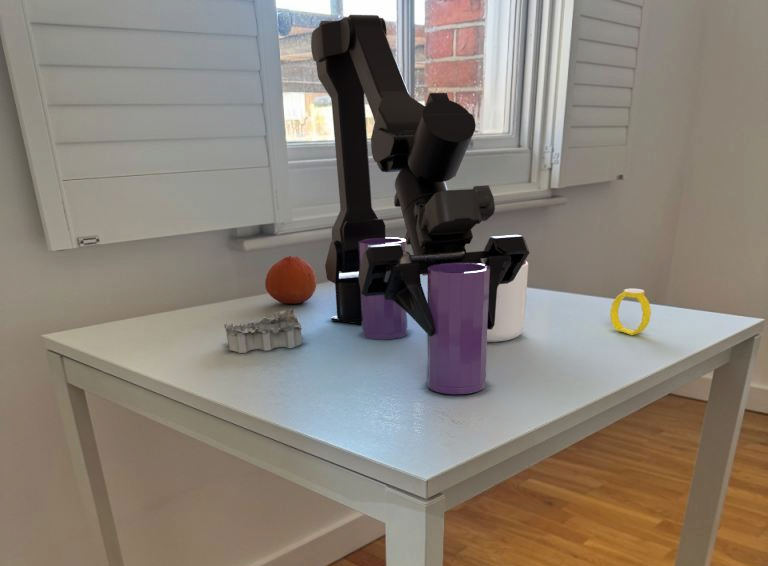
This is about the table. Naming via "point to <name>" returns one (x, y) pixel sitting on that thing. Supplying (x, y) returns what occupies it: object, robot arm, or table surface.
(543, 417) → the table surface
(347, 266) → the robot arm
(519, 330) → the cup
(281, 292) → the fruit
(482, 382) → the plum cup
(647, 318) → the watch
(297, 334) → the egg carton
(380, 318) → the plum cup
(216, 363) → the table surface
